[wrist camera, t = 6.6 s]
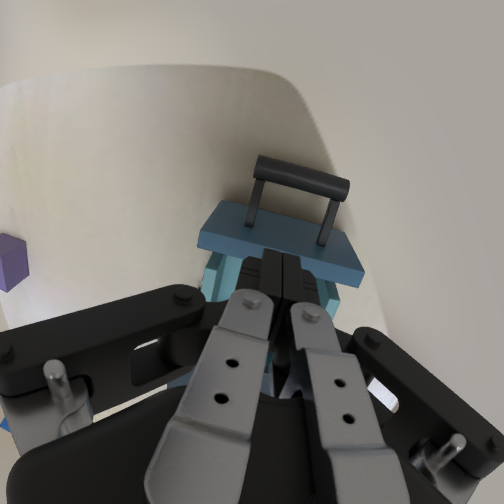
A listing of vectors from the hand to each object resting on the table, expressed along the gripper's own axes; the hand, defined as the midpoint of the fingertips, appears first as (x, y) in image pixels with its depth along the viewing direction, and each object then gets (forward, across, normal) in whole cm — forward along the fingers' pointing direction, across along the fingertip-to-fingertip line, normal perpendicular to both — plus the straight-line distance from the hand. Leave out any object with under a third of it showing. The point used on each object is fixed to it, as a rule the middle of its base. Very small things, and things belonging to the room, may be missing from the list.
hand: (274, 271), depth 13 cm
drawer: (+13, -1, +6) cm, 14 cm away
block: (+14, +29, +14) cm, 35 cm away
